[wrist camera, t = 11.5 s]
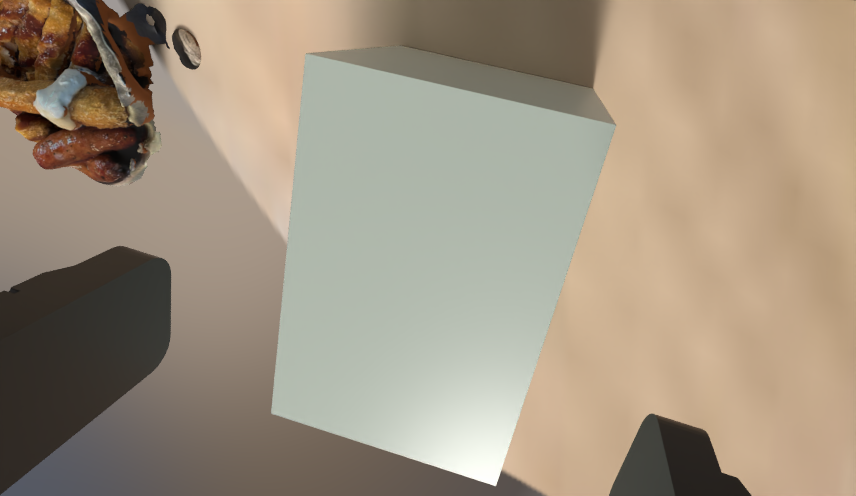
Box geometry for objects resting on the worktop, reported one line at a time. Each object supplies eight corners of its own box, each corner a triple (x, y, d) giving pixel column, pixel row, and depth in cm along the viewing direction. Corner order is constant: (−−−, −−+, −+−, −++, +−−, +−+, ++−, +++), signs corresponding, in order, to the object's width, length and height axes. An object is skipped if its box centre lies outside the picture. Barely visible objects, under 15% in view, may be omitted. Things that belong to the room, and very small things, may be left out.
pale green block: (593, 88, 16) (616, 124, 10) (515, 339, 20) (495, 486, 13) (400, 45, 17) (305, 52, 10) (360, 295, 20) (270, 413, 14)
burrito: (-86, -155, 18) (-224, -194, 15) (215, 41, 19) (143, 43, 15) (-103, 31, 21) (-222, 30, 18) (158, 198, 21) (87, 228, 18)
